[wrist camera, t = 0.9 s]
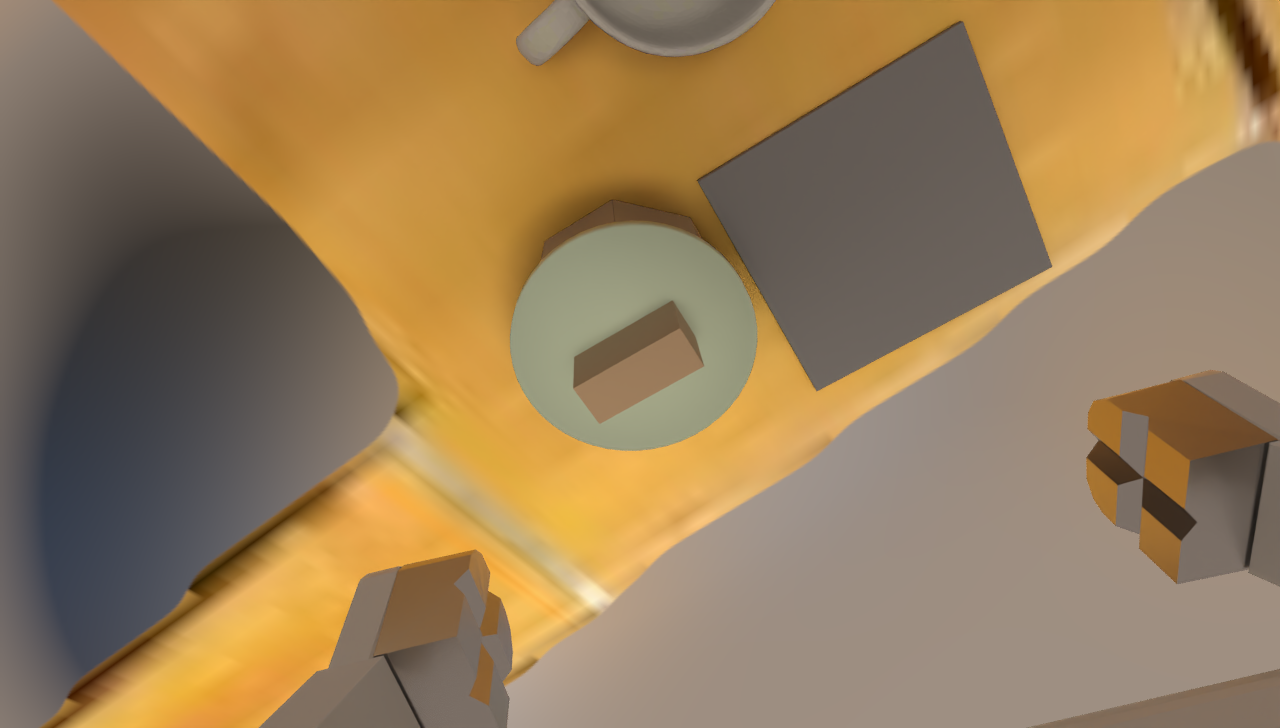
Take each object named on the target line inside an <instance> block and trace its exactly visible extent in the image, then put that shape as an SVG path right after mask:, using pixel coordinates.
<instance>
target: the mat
mask: <svg viewBox="0 0 1280 728" xmlns="http://www.w3.org/2000/svg"><path fill="white" fill-rule="evenodd" d="M697 181H698V183H699V185H700V186H701V188H702V190H703V192H704V193H705V195H706V197H707V199H708V200H709V202H710V204H711V206H712V207H713V209H714V211H715V213H716V214H717V216H718V218H719V220H720V222H721V223H722V225H723V227H724V229H725V230H726V232H727V234H728V236H729V237H730V239H731V241H732V243H733V244H734V246H735V248H736V250H737V251H738V253H739V255H740V257H741V258H742V260H743V262H744V264H745V266H746V267H747V269H748V271H749V273H750V274H751V276H752V278H753V280H754V281H755V283H756V285H757V287H758V288H759V290H760V292H761V294H762V295H763V297H764V299H765V301H766V302H767V304H768V306H769V308H770V310H771V311H772V313H773V315H774V317H775V318H776V320H777V322H778V324H779V325H780V327H781V329H782V331H783V332H784V334H785V336H786V338H787V339H788V341H789V343H790V345H791V347H792V348H793V350H794V352H795V354H796V355H797V357H798V359H799V361H800V362H801V364H802V366H803V368H804V369H805V371H806V373H807V375H808V376H809V378H810V380H811V382H812V383H813V385H814V387H815V389H816V391H818V390H820V389H822V388H824V387H826V386H828V385H830V384H832V383H833V382H835V381H837V380H839V379H841V378H843V377H845V376H847V375H849V374H850V373H852V372H854V371H856V370H858V369H860V368H862V367H864V366H866V365H867V364H869V363H871V362H873V361H875V360H877V359H879V358H881V357H883V356H884V355H886V354H888V353H890V352H892V351H894V350H896V349H898V348H900V347H901V346H903V345H905V344H907V343H909V342H911V341H913V340H915V339H917V338H918V337H920V336H922V335H924V334H926V333H928V332H930V331H932V330H934V329H935V328H937V327H939V326H941V325H943V324H945V323H947V322H949V321H951V320H952V319H954V318H956V317H958V316H960V315H962V314H964V313H966V312H968V311H969V310H971V309H973V308H975V307H977V306H979V305H981V304H983V303H985V302H986V301H988V300H990V299H992V298H994V297H996V296H998V295H1000V294H1002V293H1003V292H1005V291H1007V290H1009V289H1011V288H1013V287H1015V286H1017V285H1019V284H1020V283H1022V282H1024V281H1026V280H1028V279H1030V278H1032V277H1034V276H1036V275H1037V274H1039V273H1041V272H1043V271H1045V270H1047V269H1049V268H1051V267H1052V265H1051V262H1050V259H1049V256H1048V254H1047V251H1046V248H1045V245H1044V243H1043V240H1042V237H1041V234H1040V232H1039V229H1038V226H1037V223H1036V221H1035V218H1034V215H1033V212H1032V210H1031V207H1030V204H1029V201H1028V199H1027V196H1026V193H1025V190H1024V188H1023V185H1022V182H1021V179H1020V177H1019V174H1018V171H1017V169H1016V166H1015V163H1014V160H1013V158H1012V155H1011V152H1010V149H1009V147H1008V144H1007V141H1006V138H1005V136H1004V133H1003V130H1002V127H1001V125H1000V122H999V119H998V116H997V114H996V111H995V108H994V105H993V103H992V100H991V97H990V94H989V92H988V89H987V86H986V83H985V81H984V78H983V75H982V73H981V70H980V67H979V64H978V62H977V59H976V56H975V53H974V51H973V48H972V45H971V42H970V40H969V37H968V34H967V31H966V29H965V26H964V23H963V22H961V21H959V22H958V23H956V24H954V25H953V26H951V27H950V28H948V29H946V30H945V31H943V32H941V33H940V34H938V35H936V36H935V37H933V38H931V39H930V40H928V41H926V42H925V43H923V44H921V45H920V46H918V47H916V48H915V49H913V50H912V51H910V52H908V53H907V54H905V55H903V56H902V57H900V58H898V59H897V60H895V61H893V62H892V63H890V64H888V65H887V66H885V67H883V68H882V69H880V70H878V71H877V72H875V73H874V74H872V75H870V76H869V77H867V78H865V79H864V80H862V81H860V82H859V83H857V84H855V85H854V86H852V87H850V88H849V89H847V90H845V91H844V92H842V93H840V94H839V95H837V96H836V97H834V98H832V99H831V100H829V101H827V102H826V103H824V104H822V105H821V106H819V107H817V108H816V109H814V110H812V111H811V112H809V113H807V114H806V115H804V116H802V117H801V118H799V119H798V120H796V121H794V122H793V123H791V124H789V125H788V126H786V127H784V128H783V129H781V130H779V131H778V132H776V133H774V134H773V135H771V136H769V137H768V138H766V139H764V140H763V141H761V142H760V143H758V144H756V145H755V146H753V147H751V148H750V149H748V150H746V151H745V152H743V153H741V154H740V155H738V156H736V157H735V158H733V159H731V160H730V161H728V162H726V163H725V164H723V165H722V166H720V167H718V168H717V169H715V170H713V171H712V172H710V173H708V174H707V175H705V176H703V177H702V178H700V179H698V180H697Z"/></svg>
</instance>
